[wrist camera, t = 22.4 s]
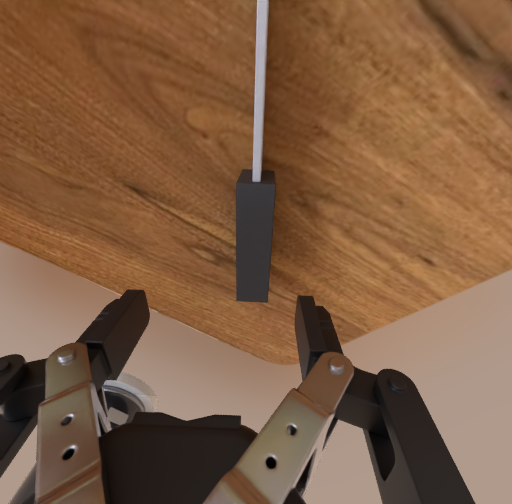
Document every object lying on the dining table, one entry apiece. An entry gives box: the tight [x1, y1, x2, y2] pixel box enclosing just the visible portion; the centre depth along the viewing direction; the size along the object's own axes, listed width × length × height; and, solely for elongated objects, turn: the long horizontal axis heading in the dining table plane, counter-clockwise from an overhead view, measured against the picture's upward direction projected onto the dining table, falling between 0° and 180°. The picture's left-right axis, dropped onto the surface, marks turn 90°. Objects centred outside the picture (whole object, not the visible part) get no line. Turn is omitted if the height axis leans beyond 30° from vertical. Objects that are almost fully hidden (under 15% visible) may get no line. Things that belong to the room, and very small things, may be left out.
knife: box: [236, 0, 276, 303], centre depth 17 cm, size 2×20×4 cm, turn 178°
